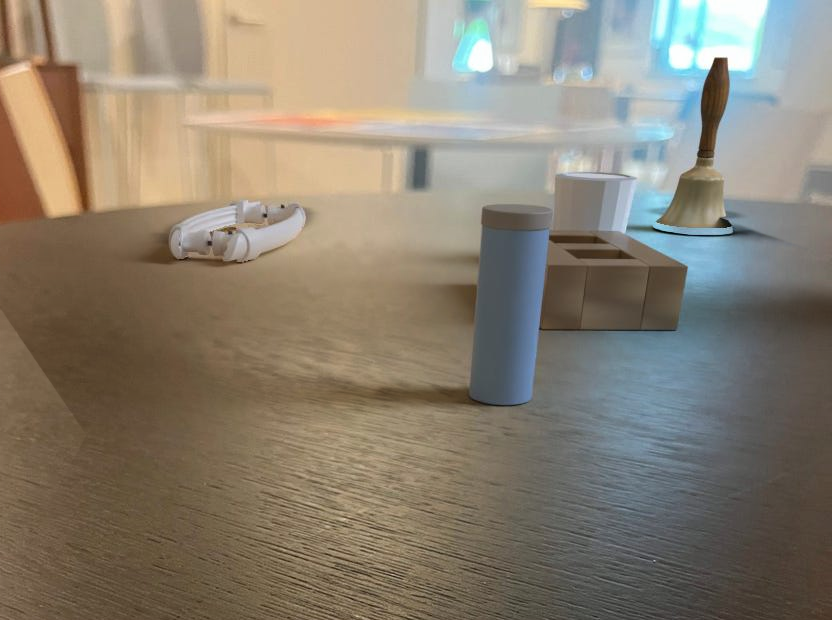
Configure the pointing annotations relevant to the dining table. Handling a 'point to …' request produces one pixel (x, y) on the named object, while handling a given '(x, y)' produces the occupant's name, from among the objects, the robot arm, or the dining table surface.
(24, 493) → the dining table surface
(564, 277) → the holder
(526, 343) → the cylindrical bottle
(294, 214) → the white oval frame
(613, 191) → the white faceted cup
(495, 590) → the dining table surface
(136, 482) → the dining table surface
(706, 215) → the hand bell
